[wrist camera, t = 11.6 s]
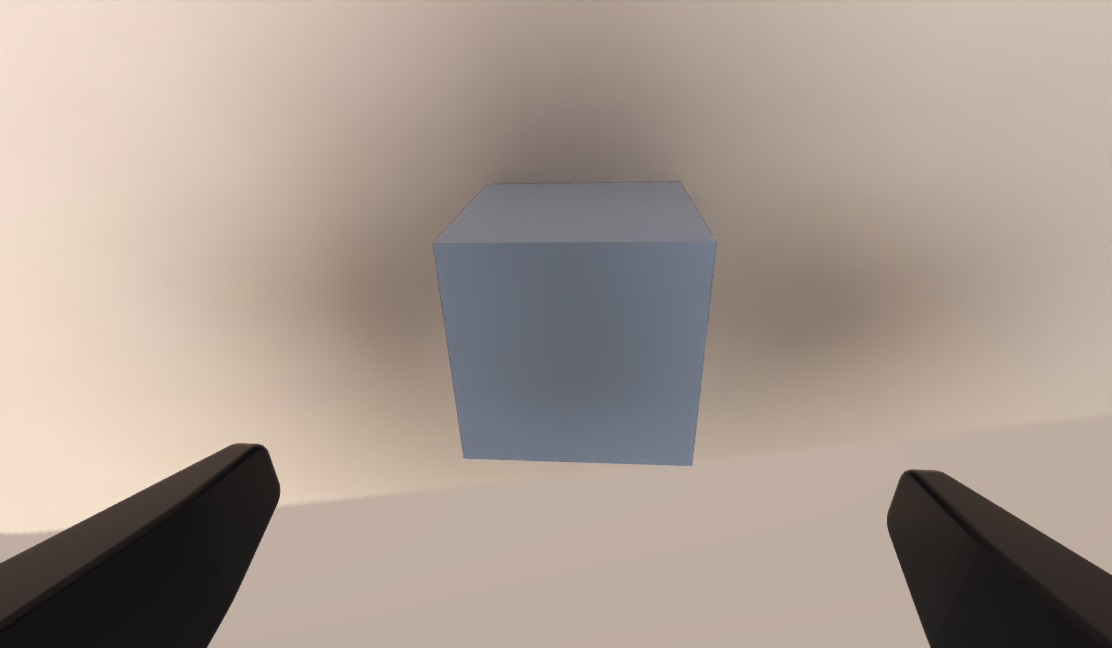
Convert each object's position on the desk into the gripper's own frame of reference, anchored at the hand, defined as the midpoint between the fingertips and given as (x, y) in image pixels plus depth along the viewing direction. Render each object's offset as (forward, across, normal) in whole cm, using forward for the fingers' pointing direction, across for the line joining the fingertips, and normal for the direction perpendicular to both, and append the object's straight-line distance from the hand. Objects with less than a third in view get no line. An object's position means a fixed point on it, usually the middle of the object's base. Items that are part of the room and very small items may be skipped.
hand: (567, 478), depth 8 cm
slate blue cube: (+8, 0, 0) cm, 8 cm away
